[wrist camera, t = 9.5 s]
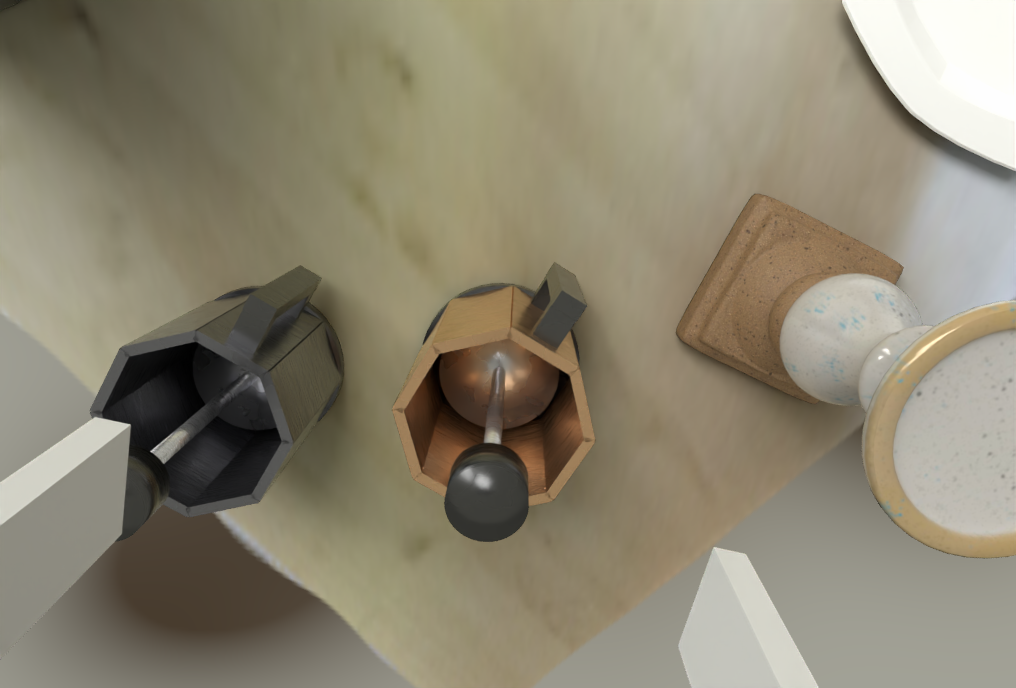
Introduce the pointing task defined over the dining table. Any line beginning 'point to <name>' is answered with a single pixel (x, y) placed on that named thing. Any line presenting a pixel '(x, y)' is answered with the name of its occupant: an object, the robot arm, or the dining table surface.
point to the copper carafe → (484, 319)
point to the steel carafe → (251, 345)
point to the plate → (948, 66)
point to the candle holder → (874, 369)
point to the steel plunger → (193, 432)
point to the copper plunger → (493, 433)
